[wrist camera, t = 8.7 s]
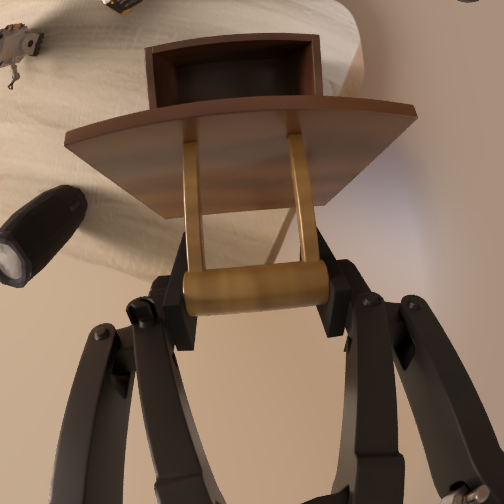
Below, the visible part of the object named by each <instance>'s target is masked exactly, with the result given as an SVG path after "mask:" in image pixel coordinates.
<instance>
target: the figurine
mask: <svg viewBox="0 0 504 504" xmlns="http://www.w3.org/2000/svg"><path fill="white" fill-rule="evenodd" d="M24 25H25V24H22V23H19V24H14V25H13V24H12V25H7V26H6V28H5V29H0V68H2V67H5V66H8V65H11V68H10V69H9V70H10V72H12V75H13V76H12V78H13V80H12V82H11V84H10V85H11V89H13V83H14V82H15V81H16V80H18V79H19V78H20V75H19V73H17V69H16V68H17V66H16V65H15V63H19V62H20V61H21V60H22V58H23V57H24V56H25V55H26V54H28V55H29V56H37V54H38V50H39V49H40V44H41V43H42V39H43V38H44V36H43V35H44V33H36V34H30V31H29V29H28V27H27V26H24ZM10 85H9V86H10ZM9 86H8V88H9V89H10V87H9Z"/></svg>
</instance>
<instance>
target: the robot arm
mask: <svg viewBox="0 0 504 504" xmlns="http://www.w3.org/2000/svg"><path fill="white" fill-rule="evenodd" d="M316 229H317V238H318V247H319V257H320V259H321V260H323V261H324V263H325V265H326V267H327V270H328V275H329V283H330V293H329V299H328V302H327V303H326V304H323V305H316V306H317V309H318V312H319V315H320V317H321V320H322V323H323V326H324V329H325V332H326V335H327V337H328V338H330V337H336V336H342V335H343V333H344V329H345V328H346V330H347V333H348V336H347V340H346V344H345V348H344V352H346V372H345V393H344V408H343V421H342V432H341V442H340V451H339V459H338V467H337V473H336V477H335V480H334V483H333V487H332V491H331V495H326V496H321V497H317V498H314V499H312V500H309V501H307V502H304V503H302V504H403V497H404V479H405V460H404V457H403V455H402V454H400V453H399V451H398V421H397V400H396V386H395V374H394V365H393V361H394V363H395V366H396V369H397V371H398V374H399V376H400V379H401V382H402V384H403V387H404V390H405V392H406V395H407V398H408V401H409V403H410V406H411V409H412V412H413V415H414V418H415V421H416V424H417V427H418V431H419V434H420V437H421V440H422V443H423V446H424V450H425V453H426V457H427V461H428V464H429V468H430V472H431V475H432V478H433V482H434V485H435V487H436V489H437V492H438V494H439V496H440V497H441V499H442V500H441V502H440V504H504V452H503V451H502V450H501V448H500V447H499V444H498V441H497V438H496V436H495V433H494V430H493V428H492V425H491V423H490V421H489V418H488V416H487V413H486V411H485V409H484V407H483V404H482V402H481V400H480V398H479V396H478V394H477V391H476V389H475V387H474V385H473V383H472V381H471V379H470V377H469V375H468V373H467V372H466V369H465V367H464V365H463V364H462V362H461V360H460V358H459V356H458V354H457V352H456V351H455V349H454V347H453V345H452V344H451V342H450V340H449V338H448V337H447V335H446V333H445V332H444V330H443V328H442V326H441V325H440V323H439V322H438V320H437V318H436V317H435V315H434V314H433V312H432V310H431V309H430V307H429V306H428V304H427V302H426V301H425V300H424V299H422V298H421V297H419V296H415V295H407V296H404V297H403V298H402V300H401V303H391V302H385V301H384V299H383V298H382V297H381V296H380V295H379V294H377V293H375V292H371V290H370V289H369V287H368V285H367V284H366V282H365V281H364V279H363V277H362V276H361V274H360V273H359V271H358V269H357V268H356V266H355V265H354V264H353V263H352V262H350V261H349V260H348V259H344V260H336V259H335V257H334V255H333V254H332V252H331V250H330V248H329V247H328V245H327V243H326V242H325V240H324V238H323V237H322V235H321V233H320V232H319V230H318V228H317V227H316ZM300 261H302V257H301V247H300ZM187 271H188V263H187V249H186V233H185V232H184V233H183V236H182V240H181V243H180V246H179V249H178V252H177V256H176V259H175V262H174V266H173V269H172V272H171V275H167V276H158V277H157V278H156V279H155V280H154V282H153V283H152V286H151V290H150V292H149V296H148V297H147V296H144V297H139V298H136V299H134V300H132V301H131V302H130V303H129V304H128V305H127V307H126V312H127V314H128V317H129V319H130V321H131V324H132V325H131V326H128V327H125V328H121V329H118V330H116V329H115V327H114V326H113V325H112V324H109V323H103V324H100V325H98V326H96V327H95V328H93V329H92V330H91V332H90V334H89V336H88V339H87V342H86V345H85V347H84V350H83V353H82V356H81V359H80V362H79V366H78V368H77V372H76V375H75V378H74V381H73V385H72V388H71V392H70V395H69V399H68V402H67V407H66V410H65V414H64V418H63V422H62V426H61V431H60V436H59V440H58V445H57V450H56V456H55V461H54V468H53V474H52V481H51V489H50V498H49V501H48V502H47V504H123V479H124V462H125V450H126V438H127V430H128V421H129V413H130V405H131V397H132V390H133V384H134V378H135V372H136V373H137V380H138V387H139V395H140V401H141V407H142V413H143V419H144V424H145V429H146V434H147V439H148V444H149V448H150V453H151V457H152V461H153V465H154V469H155V473H156V480H157V481H156V483H155V485H154V487H155V488H154V489H155V494H156V498H157V502H158V504H226V502H225V500H224V498H223V496H222V494H221V492H220V491H219V488H218V486H217V484H216V481H215V479H214V476H213V474H212V471H211V468H210V466H209V463H208V460H207V458H206V455H205V452H204V450H203V446H202V443H201V441H200V438H199V435H198V432H197V429H196V426H195V423H194V419H193V416H192V413H191V410H190V407H189V403H188V400H187V396H186V393H185V390H184V386H183V382H182V379H181V375H180V371H179V368H178V364H177V360H176V357H175V354H174V345H176V348H177V350H178V351H192V350H194V342H195V333H196V324H197V316H194V317H190V316H189V315H188V314H187V311H186V308H185V304H184V297H183V278H184V274H185V272H187Z"/></svg>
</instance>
